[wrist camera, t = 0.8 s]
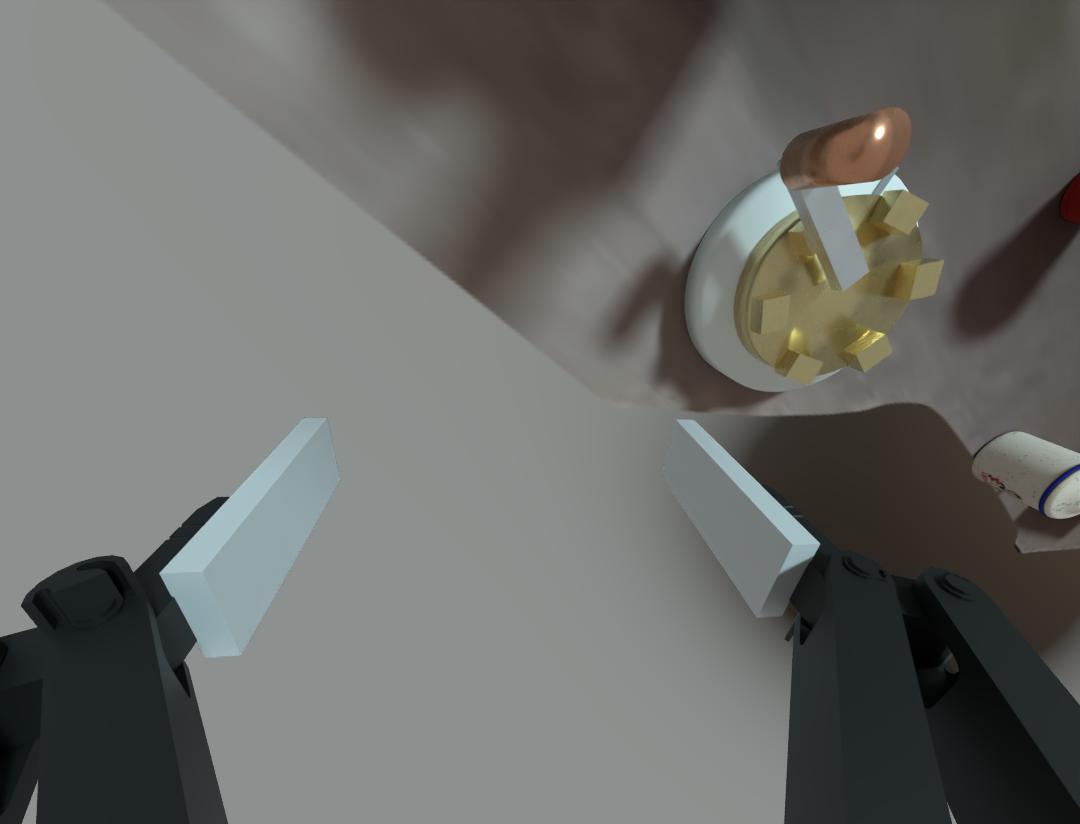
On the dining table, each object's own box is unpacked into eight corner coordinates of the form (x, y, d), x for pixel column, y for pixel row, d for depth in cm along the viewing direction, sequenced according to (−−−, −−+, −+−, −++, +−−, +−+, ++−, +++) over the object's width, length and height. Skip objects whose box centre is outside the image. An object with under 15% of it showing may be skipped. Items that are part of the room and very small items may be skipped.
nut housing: (814, 103, 34) (854, 88, 30) (914, 265, 42) (956, 269, 39) (642, 302, 40) (659, 310, 36) (759, 411, 48) (782, 427, 44)
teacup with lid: (955, 474, 58) (1057, 528, 48) (1000, 423, 55) (1122, 469, 44) (1006, 487, 61) (1113, 541, 51) (1053, 439, 57) (1178, 486, 47)
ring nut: (909, 297, 39) (1057, 321, 29) (773, 396, 42) (864, 450, 32) (834, 73, 30) (1014, -6, 20) (668, 222, 33) (749, 220, 23)
